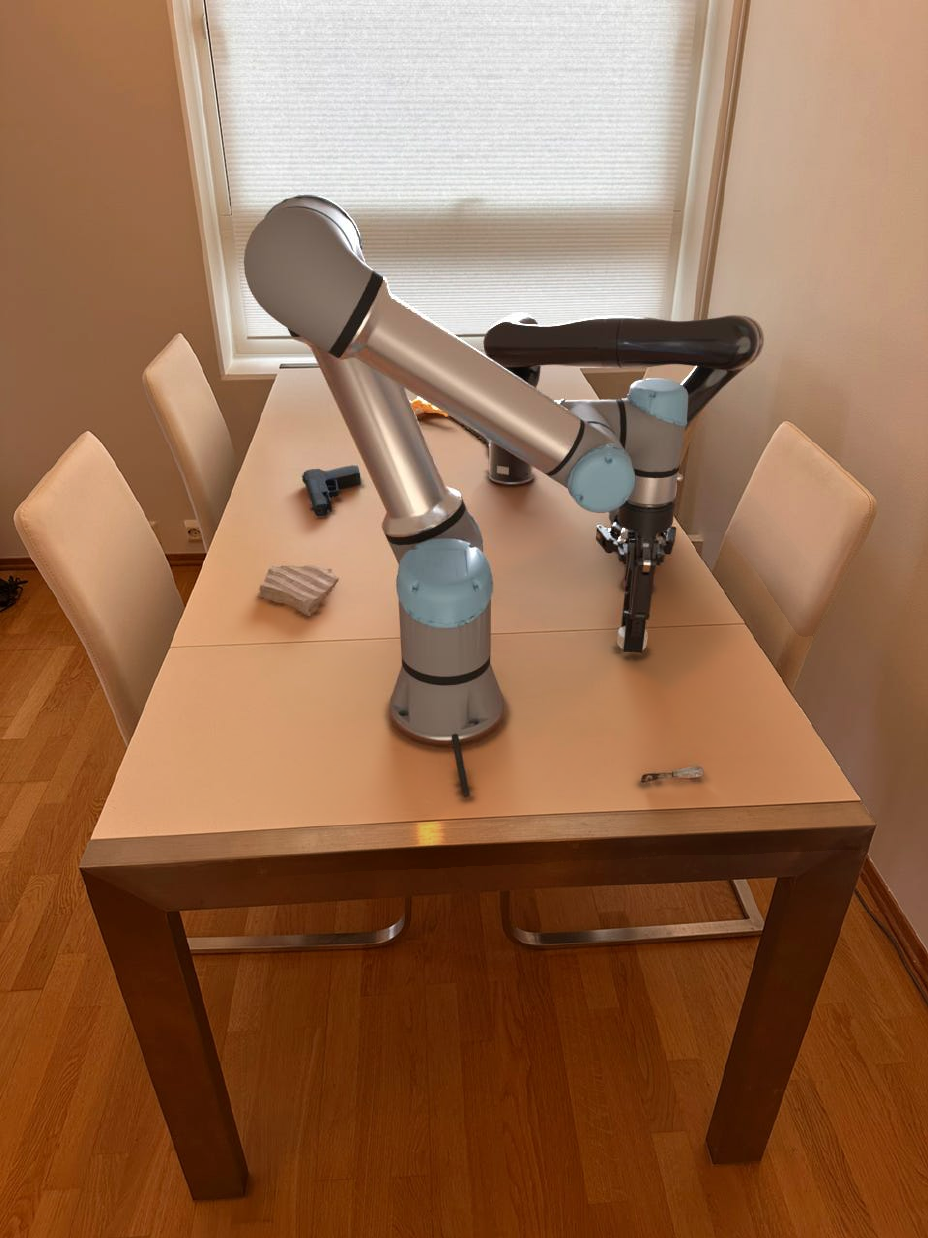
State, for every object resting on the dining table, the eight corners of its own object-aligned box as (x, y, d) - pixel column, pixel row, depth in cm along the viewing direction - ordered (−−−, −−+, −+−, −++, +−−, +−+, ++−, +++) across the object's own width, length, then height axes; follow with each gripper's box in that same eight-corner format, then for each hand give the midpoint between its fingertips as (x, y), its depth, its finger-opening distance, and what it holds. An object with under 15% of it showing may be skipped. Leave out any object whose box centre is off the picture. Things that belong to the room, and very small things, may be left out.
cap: (615, 650, 132) (616, 638, 131) (618, 635, 135) (619, 623, 134) (645, 653, 131) (646, 641, 130) (647, 638, 134) (648, 626, 133)
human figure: (395, 413, 223) (394, 398, 221) (438, 390, 237) (438, 375, 235) (462, 429, 215) (462, 413, 213) (502, 404, 229) (503, 388, 227)
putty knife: (703, 777, 109) (705, 767, 109) (642, 788, 108) (644, 777, 107) (700, 772, 110) (702, 762, 109) (639, 782, 109) (640, 771, 108)
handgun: (372, 511, 175) (311, 519, 173) (357, 476, 189) (301, 482, 187) (371, 496, 173) (310, 504, 171) (356, 462, 188) (299, 468, 185)
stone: (348, 583, 151) (347, 570, 149) (311, 618, 141) (310, 604, 140) (283, 570, 155) (281, 557, 154) (243, 602, 146) (241, 589, 144)
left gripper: (684, 526, 113) (663, 676, 125) (668, 472, 128) (650, 611, 140) (624, 524, 113) (609, 674, 126) (615, 470, 128) (602, 609, 140)
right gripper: (592, 494, 156) (599, 538, 142) (674, 495, 156) (690, 540, 141) (589, 533, 160) (596, 579, 146) (669, 534, 160) (684, 581, 145)
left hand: (631, 640), depth 133 cm, fingers open, 5 cm apart
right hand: (642, 560), depth 144 cm, fingers closed on bottle, 4 cm apart
